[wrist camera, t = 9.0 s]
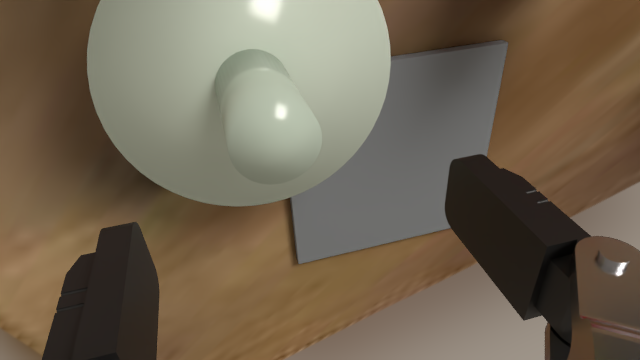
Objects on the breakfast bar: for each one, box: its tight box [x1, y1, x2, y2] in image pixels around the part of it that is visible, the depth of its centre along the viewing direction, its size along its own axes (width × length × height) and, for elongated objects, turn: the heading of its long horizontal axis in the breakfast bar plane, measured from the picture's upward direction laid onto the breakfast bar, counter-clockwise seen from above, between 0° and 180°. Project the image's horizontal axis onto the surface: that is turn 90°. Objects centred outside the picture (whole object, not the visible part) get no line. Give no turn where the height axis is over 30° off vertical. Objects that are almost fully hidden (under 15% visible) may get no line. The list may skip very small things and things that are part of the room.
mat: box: [290, 40, 508, 264], centre depth 29 cm, size 14×14×1 cm
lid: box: [87, 0, 391, 206], centre depth 16 cm, size 12×12×6 cm
